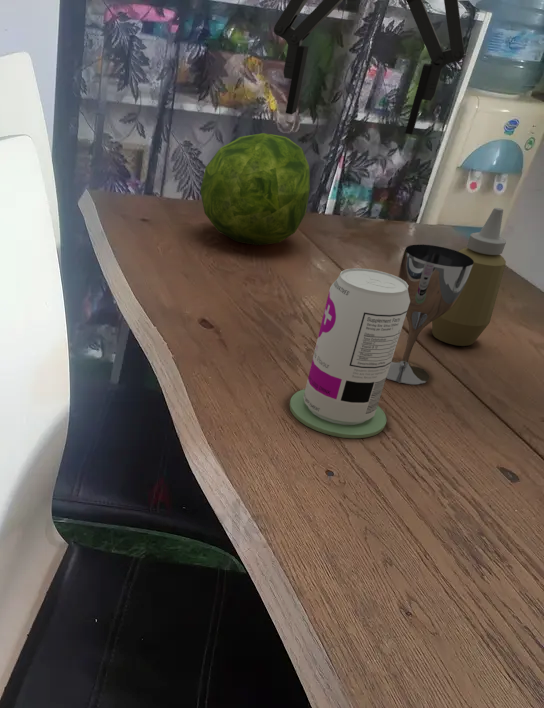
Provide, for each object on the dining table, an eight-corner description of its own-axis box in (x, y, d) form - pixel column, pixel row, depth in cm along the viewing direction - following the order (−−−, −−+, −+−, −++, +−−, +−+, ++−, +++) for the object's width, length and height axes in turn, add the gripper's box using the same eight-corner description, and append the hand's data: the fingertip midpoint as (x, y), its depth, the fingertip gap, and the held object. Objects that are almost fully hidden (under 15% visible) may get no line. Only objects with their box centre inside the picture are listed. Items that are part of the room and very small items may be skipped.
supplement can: (295, 415, 82) (327, 282, 73) (310, 386, 88) (341, 260, 79) (367, 435, 80) (409, 301, 71) (378, 403, 86) (417, 277, 77)
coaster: (389, 405, 87) (390, 401, 87) (379, 448, 79) (381, 444, 78) (299, 382, 90) (300, 378, 89) (280, 422, 81) (281, 418, 81)
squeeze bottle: (473, 355, 102) (524, 222, 91) (416, 338, 105) (460, 206, 94) (486, 338, 108) (536, 211, 97) (432, 322, 111) (475, 197, 100)
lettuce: (309, 237, 143) (317, 132, 135) (301, 254, 123) (310, 132, 115) (211, 235, 147) (213, 133, 139) (188, 251, 127) (190, 133, 119)
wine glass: (392, 353, 100) (427, 241, 91) (443, 376, 95) (486, 260, 87) (358, 366, 95) (392, 249, 86) (411, 391, 91) (452, 271, 82)
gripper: (271, -140, 71) (235, 108, 83) (542, -115, 66) (460, 146, 78) (287, -129, 77) (251, 101, 89) (537, -105, 71) (461, 136, 84)
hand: (348, 122), depth 84 cm, fingers open, 13 cm apart
